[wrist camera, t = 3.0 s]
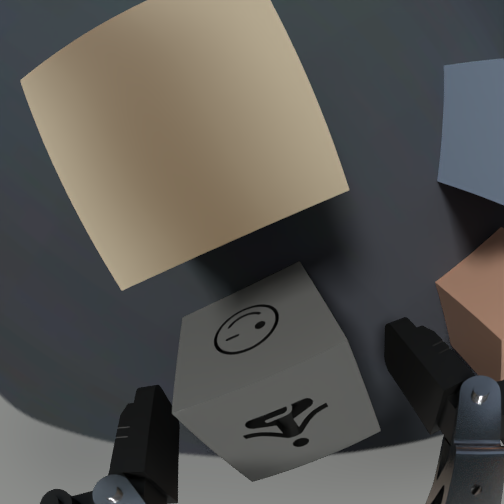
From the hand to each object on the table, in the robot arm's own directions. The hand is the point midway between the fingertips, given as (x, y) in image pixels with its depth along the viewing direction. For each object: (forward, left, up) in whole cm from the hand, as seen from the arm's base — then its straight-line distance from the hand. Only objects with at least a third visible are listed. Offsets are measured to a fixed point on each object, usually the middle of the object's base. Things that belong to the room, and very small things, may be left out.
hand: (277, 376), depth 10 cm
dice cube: (0, 0, -3) cm, 3 cm away
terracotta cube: (-11, +2, -3) cm, 12 cm away
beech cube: (+1, -8, -3) cm, 9 cm away
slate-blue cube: (-11, -6, -3) cm, 13 cm away
